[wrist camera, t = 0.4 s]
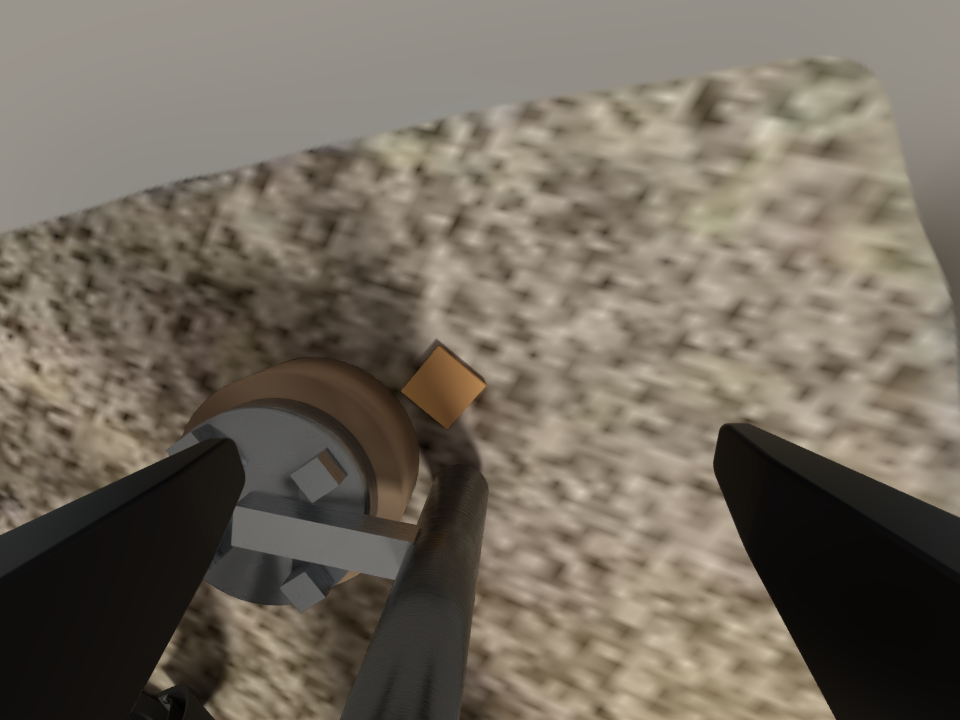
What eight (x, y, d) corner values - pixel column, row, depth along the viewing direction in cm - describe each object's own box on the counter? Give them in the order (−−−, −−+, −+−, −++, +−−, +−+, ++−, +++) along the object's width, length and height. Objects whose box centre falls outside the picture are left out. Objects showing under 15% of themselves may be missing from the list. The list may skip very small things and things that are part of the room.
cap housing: (342, 577, 27) (312, 629, 23) (192, 460, 27) (135, 494, 23) (503, 398, 24) (500, 423, 20) (339, 261, 24) (303, 260, 20)
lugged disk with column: (229, 519, 26) (-145, 846, 11) (239, 365, 24) (-192, 518, 9) (473, 570, 25) (413, 985, 11) (503, 416, 24) (480, 664, 9)
